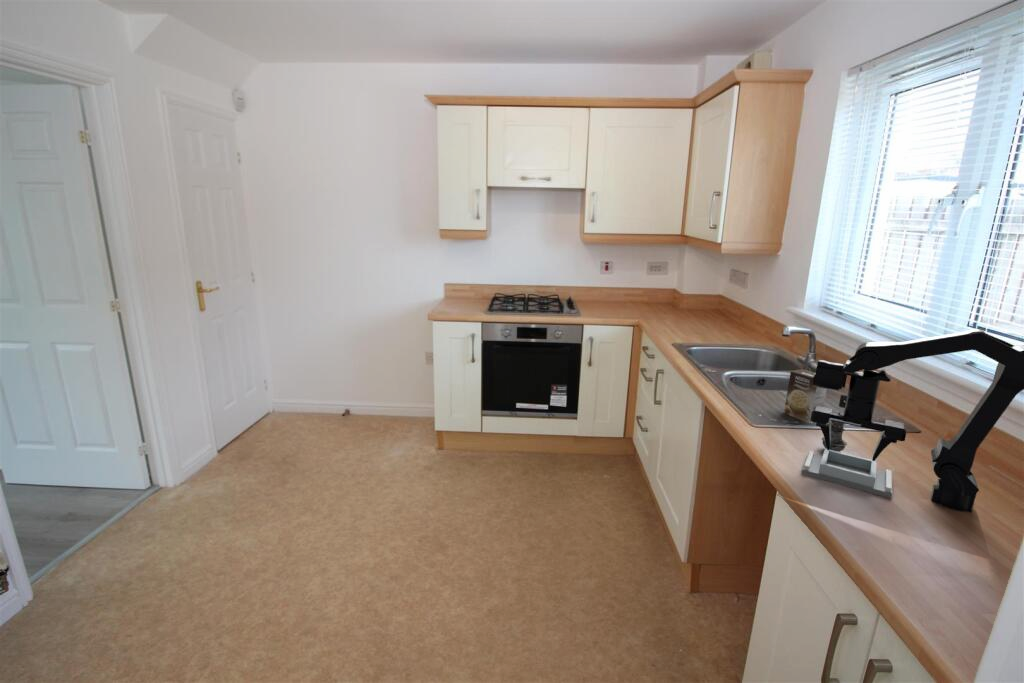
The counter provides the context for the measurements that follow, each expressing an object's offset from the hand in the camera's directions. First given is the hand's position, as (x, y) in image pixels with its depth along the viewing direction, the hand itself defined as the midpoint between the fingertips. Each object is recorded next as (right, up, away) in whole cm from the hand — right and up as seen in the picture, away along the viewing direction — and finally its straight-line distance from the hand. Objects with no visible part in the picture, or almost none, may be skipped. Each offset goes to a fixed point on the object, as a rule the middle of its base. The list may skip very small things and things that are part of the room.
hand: (850, 454), depth 120 cm
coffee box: (+9, +2, +36) cm, 37 cm away
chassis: (0, -6, +1) cm, 6 cm away
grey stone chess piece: (+5, -3, +14) cm, 15 cm away
